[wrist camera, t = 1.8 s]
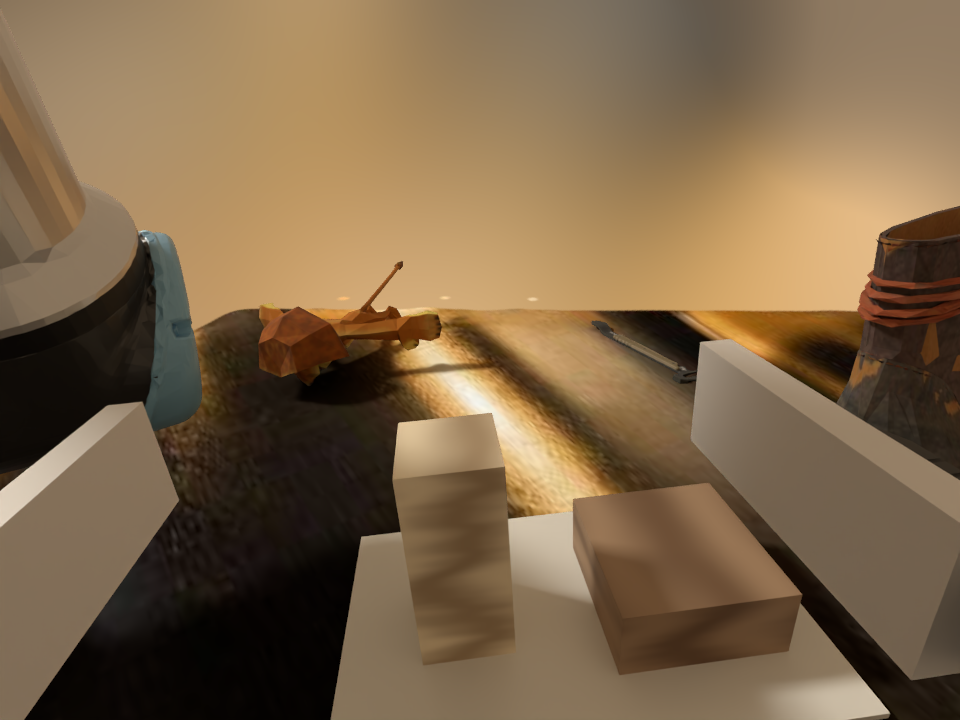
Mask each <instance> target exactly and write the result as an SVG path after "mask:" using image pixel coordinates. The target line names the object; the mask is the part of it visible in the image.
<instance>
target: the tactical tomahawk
mask: <svg viewBox="0 0 960 720" xmlns="http://www.w3.org/2000/svg"><path fill="white" fill-rule="evenodd" d="M591 323H592V325H594V326H596V327H598V328H599V330H600V331H601V333H602V334H603V335H604V336H606V337H608V338H610V339H612V340H615V341H616V342H618V343H620V344H622V345H624V346H626V347H628V348H630V349H632V350H634V351H636V352H638V353H640V354H642V355H643V356H645V357H647V358H649V359H651V360H653V361H655V362H657V363H659V364H661V365H663V366H665V367H667V368H669V369H671V370H673V371H675V372H676V373H679V374H678V375H677V374H675V375H674V376H673V380H675V381H676V382H678V383H688V382H689V381H696V380H697V376H694V377H691V378H686V377H684V376H686V375H689V374H692V373H695V372H697V371H698V370H696V371H689V370H687V369H686V368H685V367H682V366H678V364H677V363H676V362H674V361H672V360H670V359H667V358H666V357H664V356H661V355H660V354H658V353H656V352H654V351H652V350H650V349H648V348H646V347H644V346H643V345H641V344H639V343H637V342H634V341H633V340H631V339H629V338H627V337H625V336H623V335H618V334H616V333H614V332H613V331H612V330H611V329H610V327H609V326H608V324H607V323H605V322H601V321H592V322H591Z"/></svg>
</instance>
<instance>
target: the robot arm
mask: <svg viewBox="0 0 960 720" xmlns="http://www.w3.org/2000/svg"><path fill="white" fill-rule="evenodd" d="M191 324H192V321H191V316H190V312H189V303H188V298H187V293H186V288H185V283H184V279H183V275H182V270H181V266H180V262H179V258H178V255H177V251H176V248H175V245H174V243H173V241H172V239H171V238H170V237H169V236H167V235H166V234H163V233H157V232H156V233H152V232H150V231H147V230H142V231H139V232H138V231H137V228H136V226H135V224H134V221H133V219H132V218H131V216H130V215H129V213H128V211H127V210H126V209H125V208H124V206H123V205H122V204H121V203H120V202H118V201H117V200H116V199H115V198H113V197H112V196H111V195H109V194H107V193H105V192H104V191H102V190H100V189H98V188H95V187H93V186H91V185H89V184H86V183H83V182H80V181H78V179H77V177H76V175H75V173H74V171H73V168H72V166H71V164H70V162H69V160H68V157H67V155H66V153H65V150H64V148H63V146H62V144H61V142H60V139H59V137H58V135H57V133H56V130H55V128H54V126H53V124H52V121H51V119H50V117H49V115H48V113H47V110H46V108H45V106H44V104H43V101H42V99H41V97H40V95H39V93H38V91H37V88H36V86H35V84H34V81H33V79H32V77H31V75H30V73H29V70H28V68H27V66H26V64H25V61H24V59H23V57H22V55H21V52H20V50H19V48H18V46H17V44H16V42H15V39H14V37H13V35H12V33H11V30H10V28H9V26H8V24H7V21H6V19H5V17H4V15H3V12H2V10H1V8H0V474H2V473H6V472H10V471H14V470H18V469H21V468H25V467H29V466H31V467H30V468H28V469H27V470H26V471H25V472H23V473H22V474H21V475H20V476H18V477H17V478H16V479H15V480H13V481H12V482H11V483H10V484H8V485H7V486H6V487H5V488H3V489H2V490H1V491H0V720H24V719H25V718H26V716H27V715H28V714H29V712H30V711H31V709H32V708H33V706H34V705H35V704H36V702H37V701H38V699H39V698H40V697H41V695H42V694H43V692H44V691H45V689H46V688H47V687H48V685H49V684H50V682H51V681H52V680H53V678H54V677H55V675H56V674H57V672H58V671H59V670H60V668H61V667H62V665H63V664H64V663H65V661H66V660H67V658H68V657H69V655H70V654H71V653H72V651H73V650H74V648H75V647H76V646H77V644H78V643H79V641H80V640H81V638H82V637H83V636H84V634H85V633H86V631H87V630H88V629H89V627H90V626H91V624H92V623H93V621H94V620H95V619H96V617H97V616H98V614H99V613H100V612H101V610H102V609H103V607H104V606H105V604H106V603H107V602H108V600H109V599H110V597H111V596H112V595H113V593H114V592H115V590H116V589H117V587H118V586H119V585H120V583H121V582H122V580H123V579H124V578H125V576H126V575H127V573H128V572H129V570H130V569H131V568H132V566H133V565H134V563H135V562H136V561H137V559H138V558H139V556H140V555H141V553H142V552H143V551H144V549H145V548H146V546H147V545H148V544H149V542H150V541H151V539H152V538H153V536H154V535H155V534H156V532H157V531H158V529H159V528H160V527H161V525H162V524H163V522H164V521H165V519H166V518H167V517H168V515H169V514H170V512H171V511H172V510H173V508H174V507H175V505H176V504H177V502H178V501H179V499H178V497H177V494H176V491H175V488H174V486H173V483H172V480H171V478H170V475H169V472H168V470H167V467H166V464H165V461H164V459H163V456H162V453H161V451H160V448H159V445H158V443H157V440H156V437H155V434H154V432H153V431H157V430H160V429H163V428H166V427H169V426H172V425H175V424H179V423H181V422H184V421H186V420H187V419H189V418H190V417H191V416H192V415H193V414H194V413H195V412H196V411H197V409H198V408H199V406H200V403H201V399H202V384H201V374H200V366H199V360H198V353H197V347H196V342H195V336H194V332H193V329H192V328H191ZM691 441H692V442H693V443H694V444H695V445H696V446H697V447H698V448H699V449H700V450H701V452H702V453H703V454H704V455H705V456H706V457H707V458H708V459H709V460H710V461H711V462H712V464H713V465H714V466H715V467H716V468H717V469H718V470H719V471H720V472H721V473H722V474H723V476H724V477H725V478H726V479H727V480H728V481H729V482H730V483H731V484H732V485H733V486H734V488H735V489H736V490H737V491H738V492H739V493H740V494H741V495H742V496H743V497H744V498H745V500H746V501H747V502H748V503H749V504H750V505H751V506H752V507H753V508H754V509H755V510H756V511H757V513H758V514H759V515H760V516H761V517H762V518H763V519H764V520H765V521H766V522H767V523H768V525H769V526H770V527H771V528H772V529H773V530H774V531H775V532H776V533H777V534H778V535H779V537H780V538H781V539H782V540H783V541H784V542H785V543H786V544H787V545H788V546H789V547H790V549H791V550H792V551H793V552H794V553H795V554H796V555H797V556H798V557H799V558H800V559H801V561H802V562H803V563H804V564H805V565H806V566H807V567H808V568H809V569H810V570H811V571H812V573H813V574H814V575H815V576H816V577H817V578H818V579H819V580H820V581H821V582H822V583H823V585H824V586H825V587H826V588H827V589H828V590H829V591H830V592H831V593H832V594H833V595H834V597H835V598H836V599H837V600H838V601H839V602H840V603H841V604H842V605H843V606H844V607H845V609H846V610H847V611H848V612H849V613H850V614H851V615H852V616H853V617H854V618H855V619H856V621H857V622H858V623H859V624H860V625H861V626H862V627H863V628H864V629H865V630H866V631H867V633H868V634H869V635H870V636H871V637H872V638H873V639H874V640H875V641H876V642H877V643H878V644H879V646H880V647H881V648H882V649H883V650H884V651H885V652H886V653H887V654H888V655H889V656H890V658H891V659H892V660H893V661H894V662H895V663H896V664H897V665H898V666H899V667H900V668H901V670H902V671H903V672H904V673H905V674H906V675H907V676H908V677H909V678H910V679H911V680H916V679H923V678H929V677H936V676H942V675H949V674H955V673H960V470H959V469H958V468H956V467H954V466H953V465H951V464H949V463H948V462H946V461H945V462H941V460H940V458H939V457H938V456H936V455H934V454H933V453H931V452H929V451H928V450H926V449H924V448H923V447H921V446H919V445H918V444H916V443H914V442H913V441H910V440H908V439H905V438H902V437H900V436H897V435H895V434H892V433H889V432H887V431H884V430H881V429H879V428H874V427H873V426H871V425H869V424H868V423H866V422H864V421H863V420H861V419H860V418H858V417H856V416H855V415H853V414H851V413H850V412H848V411H847V410H845V409H843V408H842V407H840V406H838V405H837V404H835V403H834V402H832V401H830V400H829V399H827V398H826V397H824V396H822V395H821V394H819V393H817V392H816V391H814V390H813V389H811V388H809V387H808V386H806V385H804V384H803V383H801V382H800V381H798V380H796V379H795V378H793V377H791V376H790V375H788V374H787V373H785V372H783V371H782V370H780V369H778V368H777V367H775V366H774V365H772V364H770V363H769V362H767V361H766V360H764V359H762V358H761V357H759V356H757V355H756V354H754V353H753V352H751V351H749V350H748V349H746V348H744V347H743V346H741V345H740V344H738V343H736V342H735V341H733V340H731V339H726V340H717V341H708V342H700V352H699V362H698V371H697V381H696V391H695V401H694V411H693V421H692V431H691Z"/></svg>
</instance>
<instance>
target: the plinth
mask: <svg viewBox="0 0 960 720" xmlns="http://www.w3.org/2000/svg"><path fill="white" fill-rule="evenodd" d="M573 549H574V552H575V555H576V557H577V560H578V563H579V566H580V568H581V571H582V574H583V576H584V579H585V582H586V585H587V587H588V590H589V593H590V596H591V598H592V601H593V604H594V607H595V609H596V612H597V615H598V618H599V620H600V623H601V626H602V629H603V631H604V634H605V637H606V640H607V642H608V645H609V648H610V651H611V653H612V656H613V659H614V662H615V664H616V667H617V670H618V673H619V675H625V674H632V673H639V672H646V671H653V670H660V669H667V668H674V667H681V666H688V665H695V664H702V663H709V662H716V661H724V660H731V659H738V658H745V657H752V656H759V655H766V654H773V653H780V652H787V651H789V647H790V643H791V639H792V635H793V631H794V627H795V623H796V619H797V615H798V610H799V606H800V602H801V598H802V594H801V592H800V591H799V590H798V589H797V588H796V586H795V585H794V584H793V583H792V582H791V580H790V579H789V578H788V577H787V576H786V574H785V573H784V572H783V571H782V570H781V568H780V567H779V566H778V565H777V564H776V562H775V561H774V560H773V559H772V558H771V557H770V555H769V554H768V553H767V552H766V551H765V549H764V548H763V547H762V546H761V545H760V543H759V542H758V541H757V540H756V539H755V537H754V536H753V535H752V534H751V533H750V531H749V530H748V529H747V528H746V527H745V525H744V524H743V523H742V522H741V521H740V519H739V518H738V517H737V516H736V515H735V514H734V512H733V511H732V510H731V509H730V508H729V506H728V505H727V504H726V503H725V502H724V500H723V499H722V498H721V497H720V496H719V494H718V493H717V492H716V491H715V490H714V488H713V487H712V486H711V485H710V484H709V483H703V484H695V485H687V486H678V487H670V488H661V489H653V490H645V491H636V492H628V493H620V494H611V495H603V496H594V497H586V498H578V499H573Z"/></svg>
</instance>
